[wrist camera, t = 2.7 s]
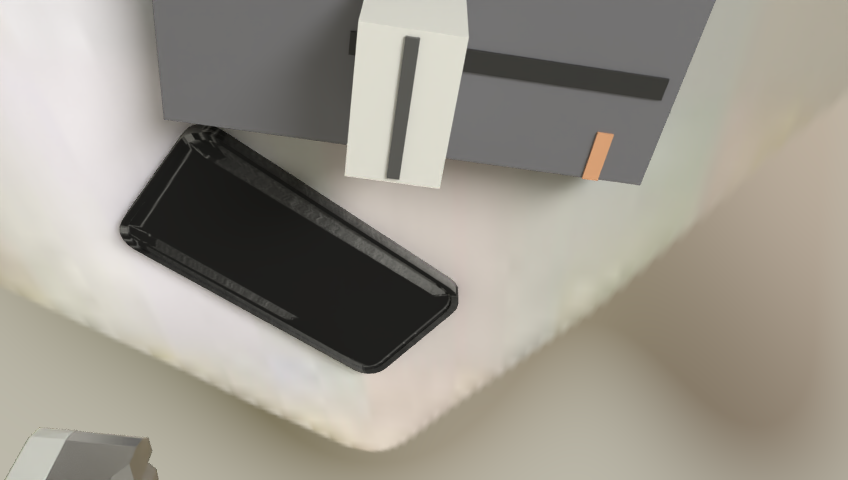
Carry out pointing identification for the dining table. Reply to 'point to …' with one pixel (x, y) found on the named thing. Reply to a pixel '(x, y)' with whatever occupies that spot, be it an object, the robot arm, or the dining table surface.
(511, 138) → the mixer panel
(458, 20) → the fader knob
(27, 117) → the dining table surface
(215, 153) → the phone
